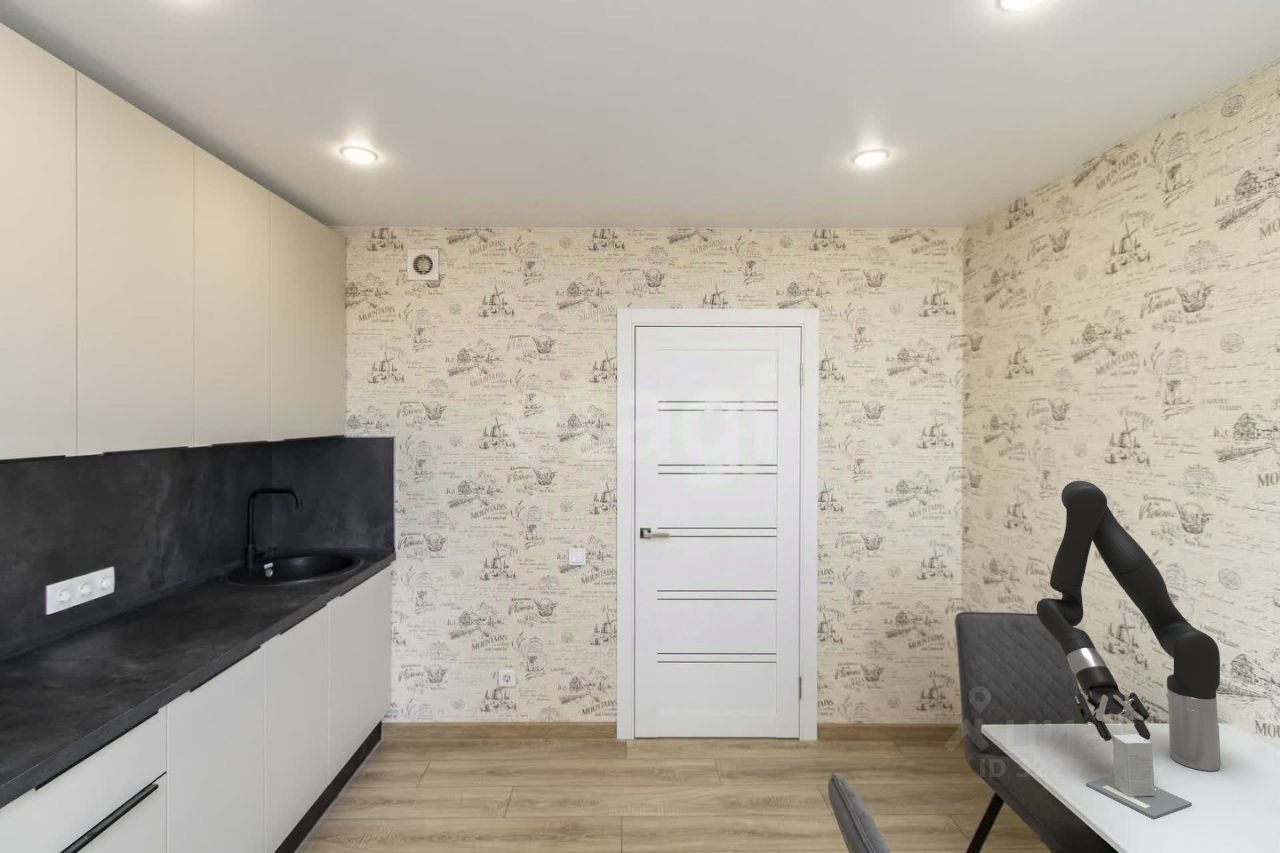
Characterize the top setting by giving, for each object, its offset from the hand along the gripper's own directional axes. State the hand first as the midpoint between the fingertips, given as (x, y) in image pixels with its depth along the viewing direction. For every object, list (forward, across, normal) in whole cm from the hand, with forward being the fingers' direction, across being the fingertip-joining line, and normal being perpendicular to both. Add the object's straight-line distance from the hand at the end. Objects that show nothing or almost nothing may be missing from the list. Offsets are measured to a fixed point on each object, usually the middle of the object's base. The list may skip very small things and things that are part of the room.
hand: (1127, 739), depth 142 cm
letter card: (+10, 0, +6) cm, 12 cm away
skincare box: (+9, -1, +6) cm, 11 cm away
